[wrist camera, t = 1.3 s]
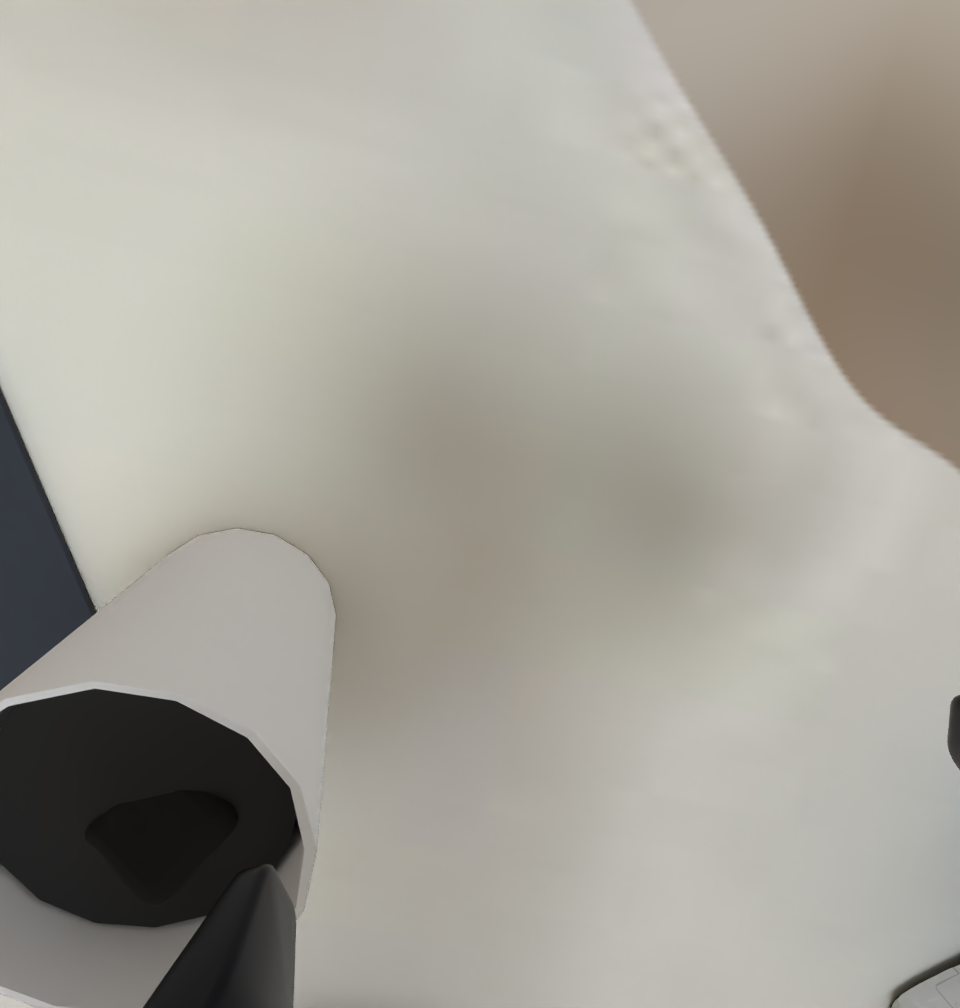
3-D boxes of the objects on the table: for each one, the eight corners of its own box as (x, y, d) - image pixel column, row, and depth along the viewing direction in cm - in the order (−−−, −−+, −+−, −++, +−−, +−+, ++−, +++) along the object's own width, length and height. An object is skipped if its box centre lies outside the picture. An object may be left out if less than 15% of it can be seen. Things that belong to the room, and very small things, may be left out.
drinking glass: (393, 614, 21) (397, 844, 12) (247, 750, 22) (136, 1076, 12) (234, 468, 20) (84, 597, 10) (79, 619, 20) (-205, 880, 10)
